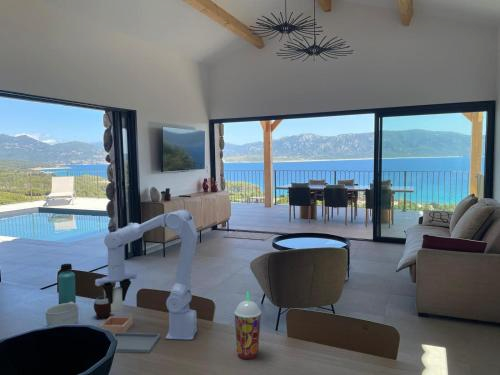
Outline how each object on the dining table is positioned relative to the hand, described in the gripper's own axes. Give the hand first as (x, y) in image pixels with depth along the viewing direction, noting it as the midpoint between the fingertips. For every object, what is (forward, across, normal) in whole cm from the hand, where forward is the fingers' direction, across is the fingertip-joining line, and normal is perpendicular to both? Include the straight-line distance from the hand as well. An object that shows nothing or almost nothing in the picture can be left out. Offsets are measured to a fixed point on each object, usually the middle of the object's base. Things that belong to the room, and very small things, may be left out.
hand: (116, 301), depth 138 cm
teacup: (+11, +14, -15) cm, 23 cm away
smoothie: (+11, -23, +46) cm, 52 cm away
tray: (+10, +1, +15) cm, 19 cm away
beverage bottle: (+11, +8, -30) cm, 33 cm away
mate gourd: (+11, -1, -15) cm, 18 cm away
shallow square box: (+10, 0, 0) cm, 10 cm away
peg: (+3, 0, 0) cm, 3 cm away
